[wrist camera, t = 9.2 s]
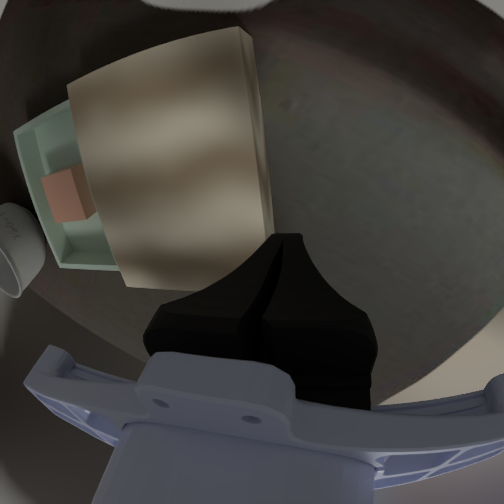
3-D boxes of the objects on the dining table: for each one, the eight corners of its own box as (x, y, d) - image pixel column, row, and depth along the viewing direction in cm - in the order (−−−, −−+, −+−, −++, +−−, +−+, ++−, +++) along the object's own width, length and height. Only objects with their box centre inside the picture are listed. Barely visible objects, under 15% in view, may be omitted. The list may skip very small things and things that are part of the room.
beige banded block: (277, 262, 24) (271, 293, 21) (146, 261, 27) (126, 286, 24) (252, 37, 15) (238, 26, 12) (99, 80, 18) (66, 85, 14)
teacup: (49, 202, 26) (0, 238, 19) (63, 274, 32) (28, 313, 25) (-6, 184, 26) (-46, 210, 20) (8, 246, 32) (-24, 275, 26)
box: (139, 253, 27) (124, 270, 24) (74, 253, 29) (59, 267, 27) (96, 92, 18) (73, 97, 16) (33, 124, 21) (13, 131, 18)
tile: (55, 223, 24) (67, 214, 25) (86, 219, 23) (98, 210, 24) (40, 178, 21) (53, 170, 23) (70, 168, 20) (84, 161, 22)
